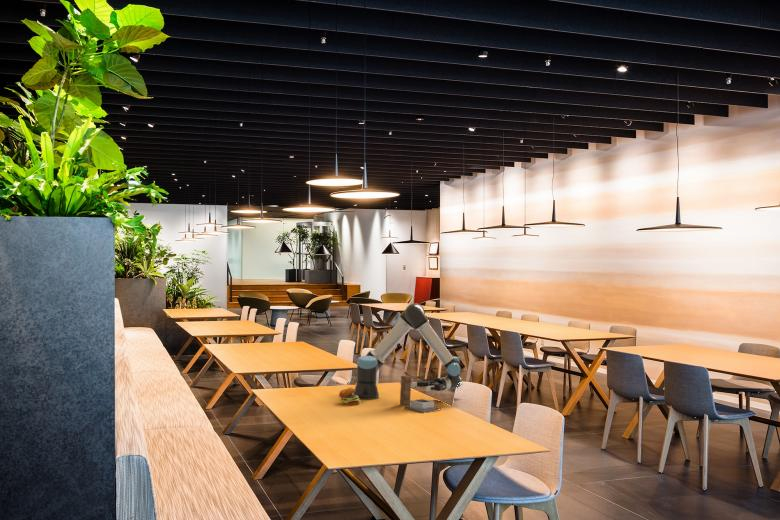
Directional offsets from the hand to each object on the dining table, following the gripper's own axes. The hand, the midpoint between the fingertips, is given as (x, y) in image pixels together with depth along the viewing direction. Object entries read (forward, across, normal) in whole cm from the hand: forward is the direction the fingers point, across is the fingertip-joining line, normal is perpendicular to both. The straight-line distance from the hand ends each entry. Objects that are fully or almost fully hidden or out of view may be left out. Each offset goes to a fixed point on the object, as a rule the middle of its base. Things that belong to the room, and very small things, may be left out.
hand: (417, 387), depth 379 cm
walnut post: (+10, 0, -9) cm, 13 cm away
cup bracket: (+11, -14, -9) cm, 20 cm away
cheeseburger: (+34, +19, -9) cm, 40 cm away
